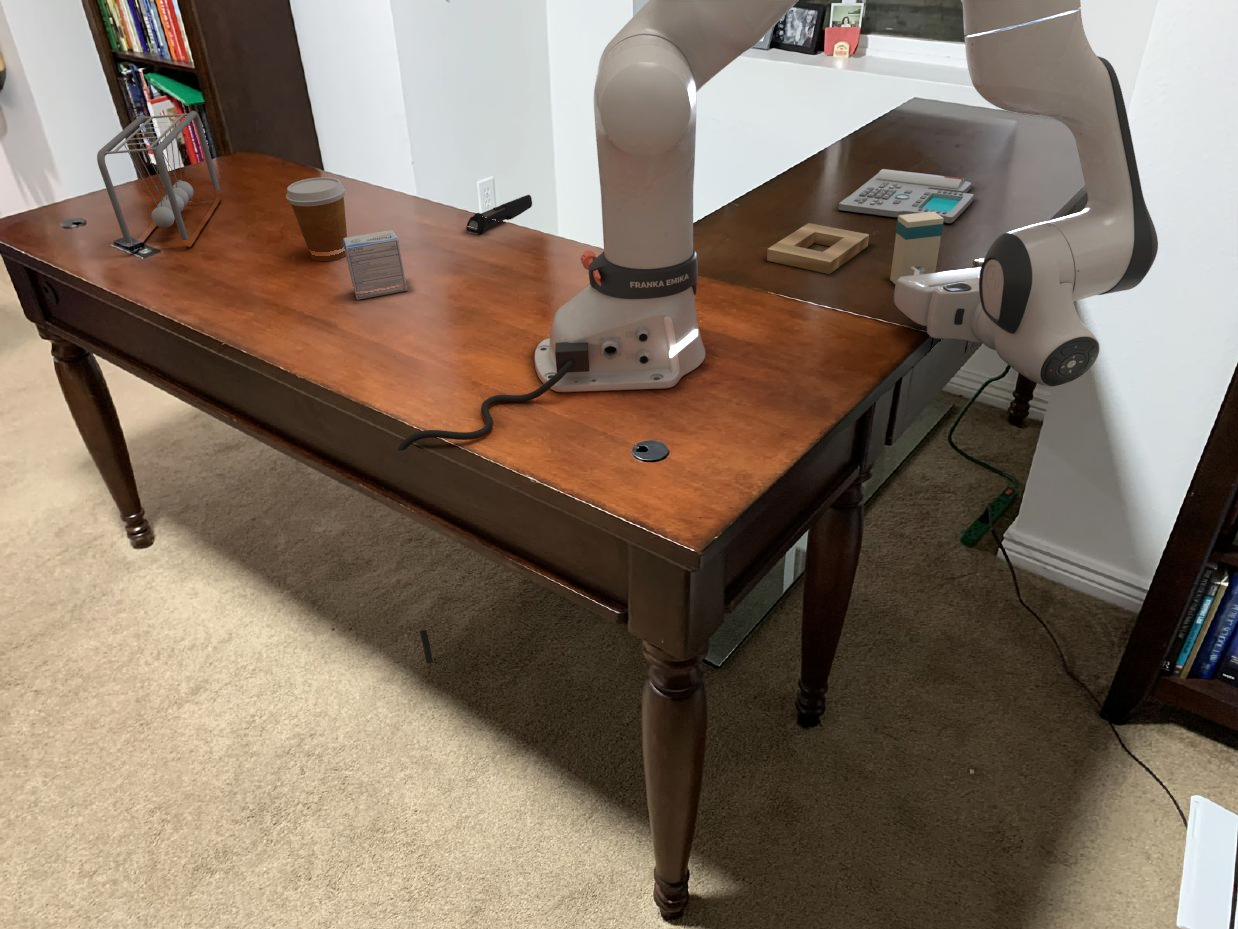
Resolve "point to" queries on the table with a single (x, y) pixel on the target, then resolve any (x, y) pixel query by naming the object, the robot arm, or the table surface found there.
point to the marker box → (916, 243)
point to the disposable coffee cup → (320, 214)
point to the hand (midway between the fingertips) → (945, 267)
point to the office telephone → (910, 195)
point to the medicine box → (375, 263)
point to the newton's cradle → (175, 194)
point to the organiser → (825, 262)
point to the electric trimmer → (498, 214)
